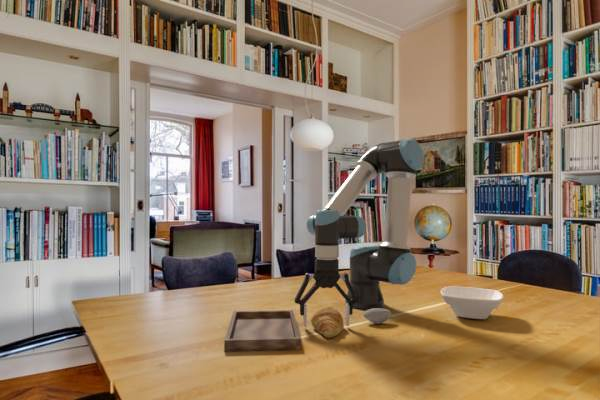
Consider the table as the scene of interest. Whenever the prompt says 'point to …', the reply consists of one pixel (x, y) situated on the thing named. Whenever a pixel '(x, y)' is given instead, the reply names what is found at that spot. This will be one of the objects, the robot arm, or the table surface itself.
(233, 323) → the tray
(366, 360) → the table surface
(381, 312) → the stone
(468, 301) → the bowl
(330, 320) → the croissant
